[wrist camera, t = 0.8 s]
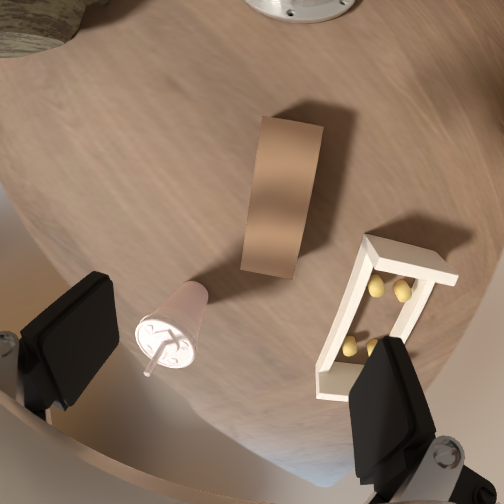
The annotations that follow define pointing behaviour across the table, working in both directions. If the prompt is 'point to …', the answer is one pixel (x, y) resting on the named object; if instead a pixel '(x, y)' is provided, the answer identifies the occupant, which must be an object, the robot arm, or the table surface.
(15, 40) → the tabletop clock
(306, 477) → the table surface
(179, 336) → the smoothie
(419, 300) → the frame
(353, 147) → the table surface
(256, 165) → the plank
